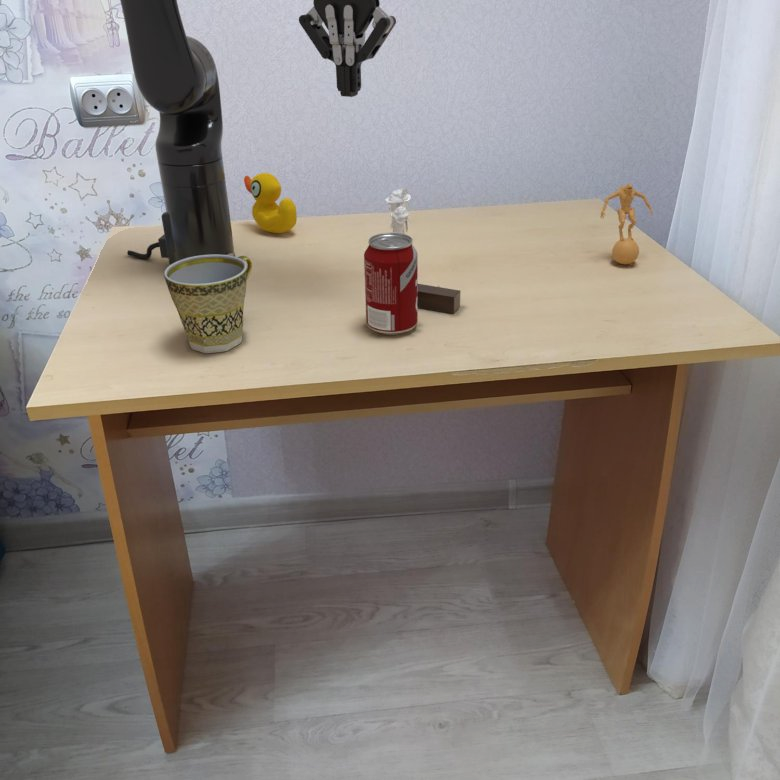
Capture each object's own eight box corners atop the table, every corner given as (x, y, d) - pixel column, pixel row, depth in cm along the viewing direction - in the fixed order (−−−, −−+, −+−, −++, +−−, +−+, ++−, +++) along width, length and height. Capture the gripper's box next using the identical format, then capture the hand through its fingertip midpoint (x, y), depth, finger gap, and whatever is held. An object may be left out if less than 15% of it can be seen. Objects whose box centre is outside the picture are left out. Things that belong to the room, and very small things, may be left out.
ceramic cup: (218, 367, 93) (206, 290, 88) (159, 348, 98) (145, 274, 93) (285, 326, 103) (279, 255, 97) (229, 310, 107) (220, 242, 102)
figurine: (603, 270, 118) (613, 192, 112) (588, 256, 123) (597, 181, 117) (654, 266, 119) (667, 189, 113) (638, 252, 124) (649, 178, 118)
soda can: (390, 343, 98) (388, 253, 92) (356, 326, 102) (352, 239, 96) (428, 327, 102) (428, 240, 96) (393, 311, 106) (392, 227, 100)
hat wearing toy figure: (413, 267, 120) (413, 191, 114) (388, 268, 120) (386, 192, 114) (408, 247, 128) (407, 175, 121) (384, 248, 127) (383, 175, 121)
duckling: (239, 228, 137) (232, 172, 132) (261, 221, 141) (255, 165, 136) (283, 241, 131) (278, 183, 126) (305, 233, 135) (301, 176, 129)
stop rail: (460, 307, 107) (460, 290, 106) (453, 314, 105) (454, 297, 104) (382, 293, 111) (381, 277, 110) (374, 300, 109) (374, 283, 108)
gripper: (278, -59, 90) (290, 97, 99) (380, -60, 85) (383, 104, 94) (310, -60, 96) (319, 88, 105) (407, -61, 91) (408, 94, 100)
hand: (349, 95), depth 99 cm, fingers closed
